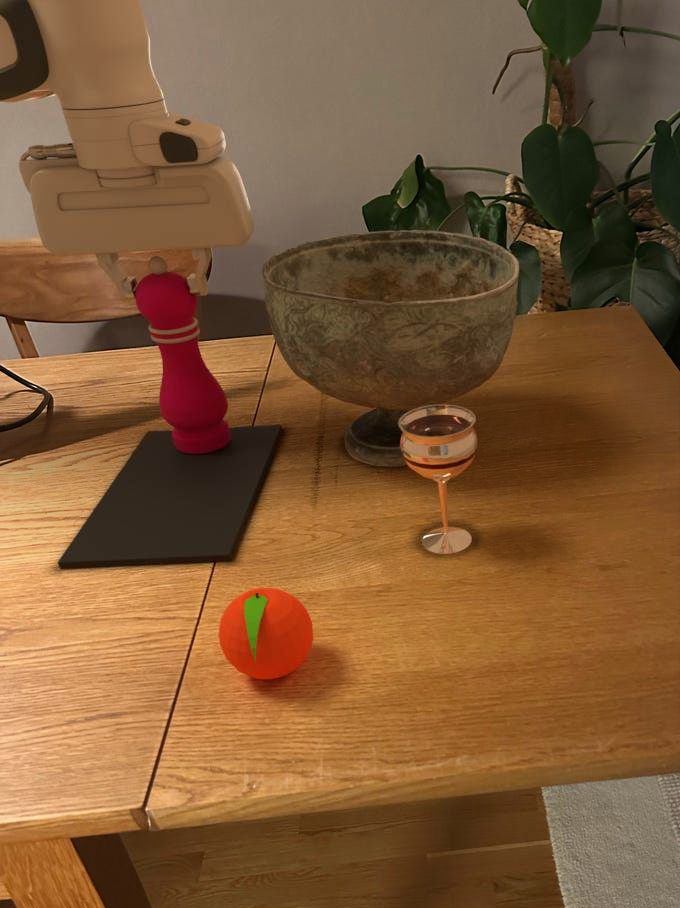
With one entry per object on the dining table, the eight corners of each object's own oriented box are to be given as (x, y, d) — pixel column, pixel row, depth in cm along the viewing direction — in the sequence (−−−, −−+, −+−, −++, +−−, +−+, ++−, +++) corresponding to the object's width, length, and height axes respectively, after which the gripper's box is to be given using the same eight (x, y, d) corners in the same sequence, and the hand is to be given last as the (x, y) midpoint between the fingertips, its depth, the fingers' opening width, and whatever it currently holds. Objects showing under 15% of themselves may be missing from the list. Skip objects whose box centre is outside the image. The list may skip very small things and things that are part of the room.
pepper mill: (245, 444, 95) (203, 257, 82) (183, 463, 92) (129, 271, 79) (222, 423, 100) (179, 242, 87) (162, 439, 97) (108, 255, 84)
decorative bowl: (275, 408, 103) (244, 234, 90) (473, 379, 109) (470, 211, 96) (311, 518, 84) (277, 317, 71) (548, 475, 90) (558, 282, 77)
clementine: (316, 703, 62) (298, 628, 57) (221, 712, 62) (196, 637, 57) (323, 636, 68) (307, 563, 64) (237, 644, 68) (216, 571, 63)
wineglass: (476, 517, 81) (469, 400, 74) (488, 555, 76) (483, 432, 69) (407, 526, 81) (393, 408, 73) (415, 565, 76) (401, 442, 68)
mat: (60, 569, 78) (57, 562, 77) (149, 437, 99) (147, 431, 99) (230, 562, 77) (229, 554, 77) (283, 430, 99) (281, 424, 99)
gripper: (-4, 152, 75) (53, 311, 83) (224, 139, 74) (257, 300, 83) (26, 140, 79) (76, 291, 88) (239, 129, 79) (269, 282, 88)
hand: (166, 296), depth 85 cm, fingers closed on pepper mill, 6 cm apart
